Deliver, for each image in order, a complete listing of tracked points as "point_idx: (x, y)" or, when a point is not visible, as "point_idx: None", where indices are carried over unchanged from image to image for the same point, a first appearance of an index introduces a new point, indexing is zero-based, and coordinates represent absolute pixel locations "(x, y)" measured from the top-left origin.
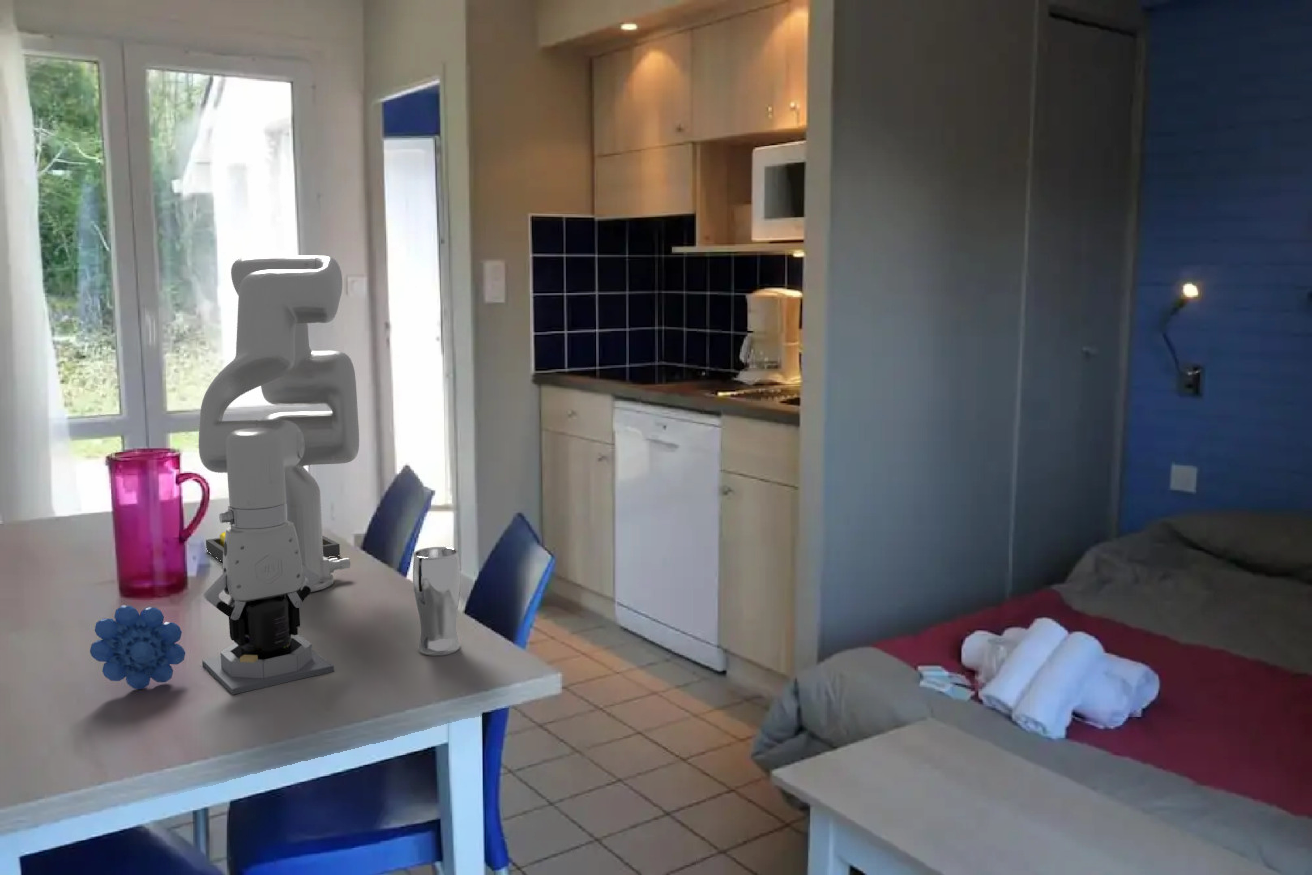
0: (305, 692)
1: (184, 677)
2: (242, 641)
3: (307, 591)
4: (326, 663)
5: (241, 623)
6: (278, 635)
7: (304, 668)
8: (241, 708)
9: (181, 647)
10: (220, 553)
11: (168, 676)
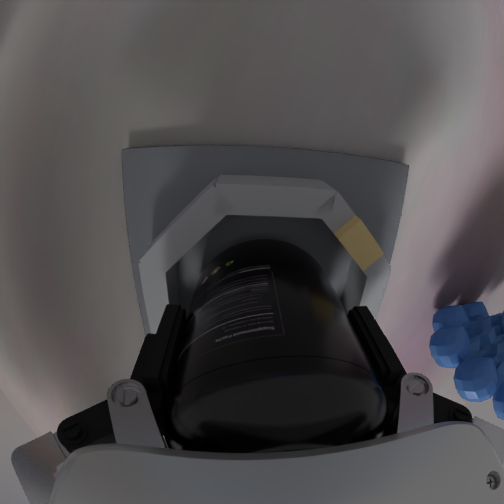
0: (254, 43)
1: (403, 323)
2: (365, 313)
3: (70, 427)
4: (131, 179)
5: (390, 358)
6: (255, 281)
7: (196, 178)
8: (414, 71)
9: (449, 352)
10: None
11: (447, 308)
